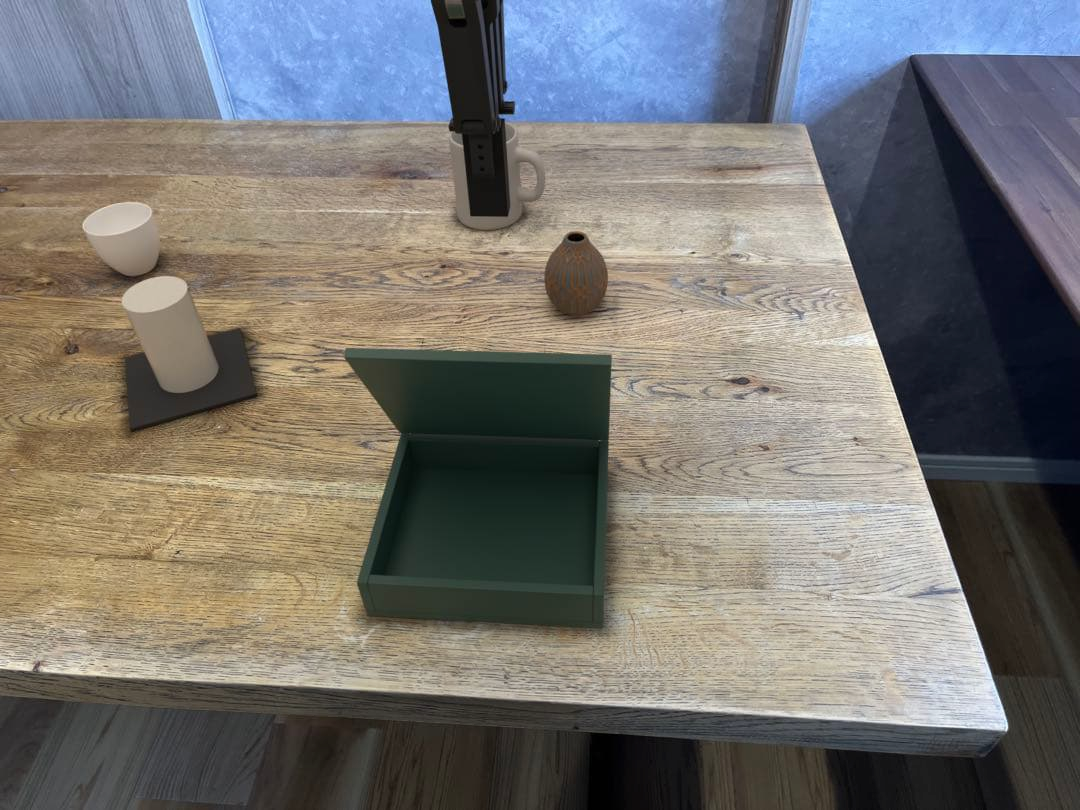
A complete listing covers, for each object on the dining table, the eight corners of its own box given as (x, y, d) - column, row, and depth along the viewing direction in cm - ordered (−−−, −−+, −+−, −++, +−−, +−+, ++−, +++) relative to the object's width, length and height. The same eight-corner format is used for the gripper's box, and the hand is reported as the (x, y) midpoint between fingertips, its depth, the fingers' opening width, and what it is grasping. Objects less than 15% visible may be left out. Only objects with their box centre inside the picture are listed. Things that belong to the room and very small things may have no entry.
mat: (257, 396, 82) (256, 393, 81) (131, 431, 78) (129, 428, 78) (241, 330, 90) (240, 327, 90) (126, 360, 87) (124, 357, 86)
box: (603, 628, 61) (604, 595, 58) (366, 616, 62) (356, 582, 59) (607, 474, 72) (608, 439, 69) (408, 466, 74) (401, 432, 71)
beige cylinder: (179, 401, 81) (142, 320, 74) (147, 377, 84) (108, 297, 77) (230, 370, 84) (200, 289, 77) (197, 348, 87) (165, 268, 80)
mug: (447, 226, 105) (437, 144, 98) (471, 194, 111) (463, 115, 103) (536, 238, 102) (532, 155, 95) (555, 205, 108) (553, 124, 101)
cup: (125, 292, 96) (103, 242, 92) (84, 264, 101) (60, 215, 97) (183, 263, 100) (164, 214, 96) (140, 238, 105) (120, 190, 101)
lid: (611, 365, 54) (611, 354, 54) (343, 358, 55) (345, 347, 55) (608, 440, 69) (609, 431, 69) (399, 433, 70) (400, 424, 71)
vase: (570, 331, 88) (569, 262, 82) (533, 302, 92) (529, 234, 86) (619, 308, 90) (622, 239, 85) (581, 281, 95) (581, 213, 89)
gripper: (410, -208, 48) (453, 168, 64) (354, -173, 38) (421, 260, 54) (538, -212, 47) (549, 169, 63) (514, -178, 37) (534, 261, 53)
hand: (490, 210), depth 59 cm, fingers closed
